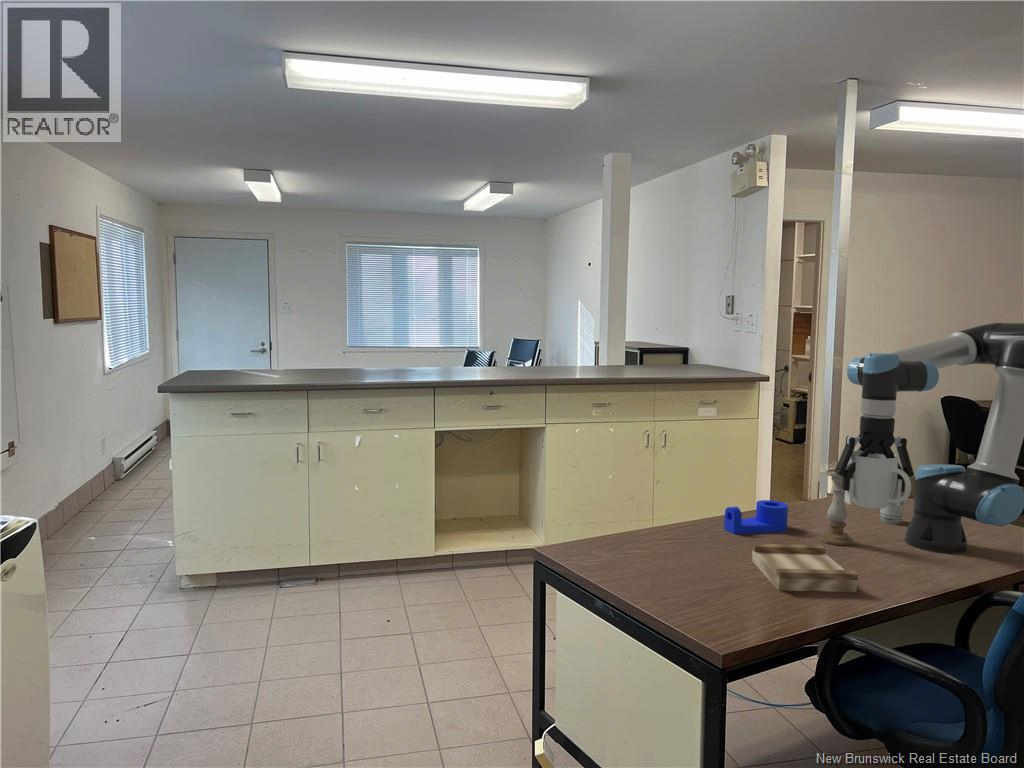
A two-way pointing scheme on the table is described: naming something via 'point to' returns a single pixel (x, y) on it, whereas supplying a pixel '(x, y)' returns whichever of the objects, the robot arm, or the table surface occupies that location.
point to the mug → (876, 481)
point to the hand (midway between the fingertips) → (872, 503)
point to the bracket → (758, 518)
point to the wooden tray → (802, 568)
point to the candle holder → (836, 514)
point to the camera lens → (892, 513)
